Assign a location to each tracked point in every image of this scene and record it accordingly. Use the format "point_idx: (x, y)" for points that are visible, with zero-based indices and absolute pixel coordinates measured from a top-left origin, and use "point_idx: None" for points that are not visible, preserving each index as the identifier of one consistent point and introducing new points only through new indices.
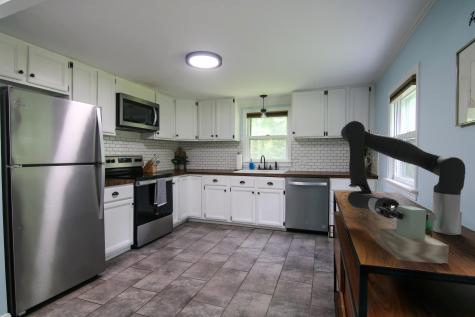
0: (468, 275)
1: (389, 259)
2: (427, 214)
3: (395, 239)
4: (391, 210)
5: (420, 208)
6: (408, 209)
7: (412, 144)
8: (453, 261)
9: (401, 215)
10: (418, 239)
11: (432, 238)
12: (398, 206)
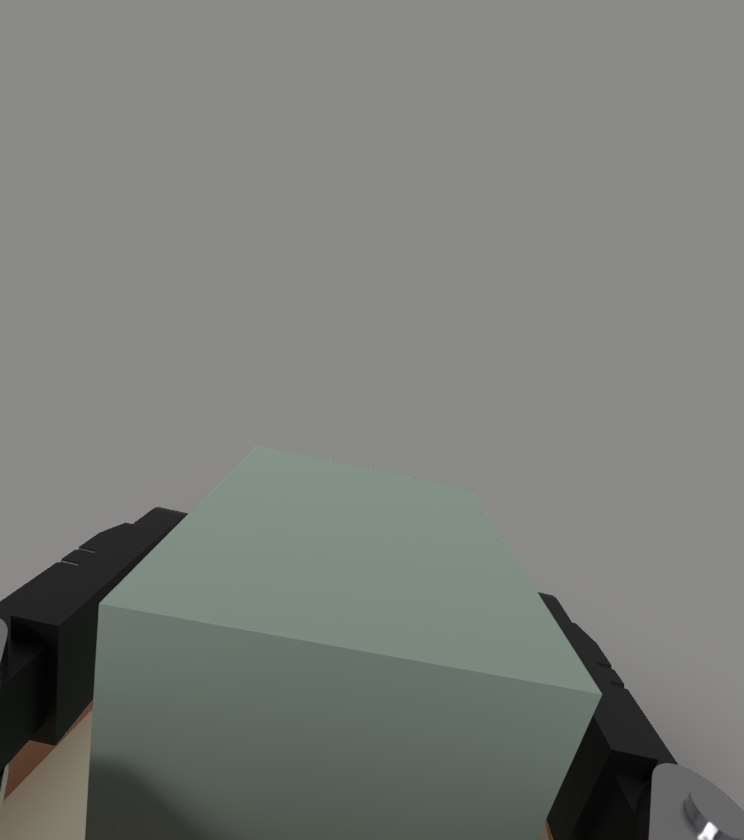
0: None
1: (546, 825)
2: (174, 511)
3: None
4: (717, 800)
5: (225, 479)
6: (480, 506)
7: None
8: (89, 710)
9: None
10: None
11: (86, 737)
12: (578, 667)
